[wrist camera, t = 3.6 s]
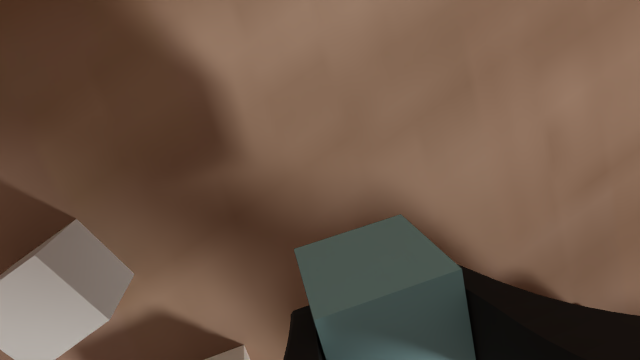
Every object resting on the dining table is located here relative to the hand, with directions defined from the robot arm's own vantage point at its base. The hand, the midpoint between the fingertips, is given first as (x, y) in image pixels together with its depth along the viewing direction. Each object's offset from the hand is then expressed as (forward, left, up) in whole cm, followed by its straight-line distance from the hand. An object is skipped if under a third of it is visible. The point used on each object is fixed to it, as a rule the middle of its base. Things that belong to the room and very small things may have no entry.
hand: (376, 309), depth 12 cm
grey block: (+13, -1, -9) cm, 16 cm away
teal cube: (0, 0, -2) cm, 2 cm away
